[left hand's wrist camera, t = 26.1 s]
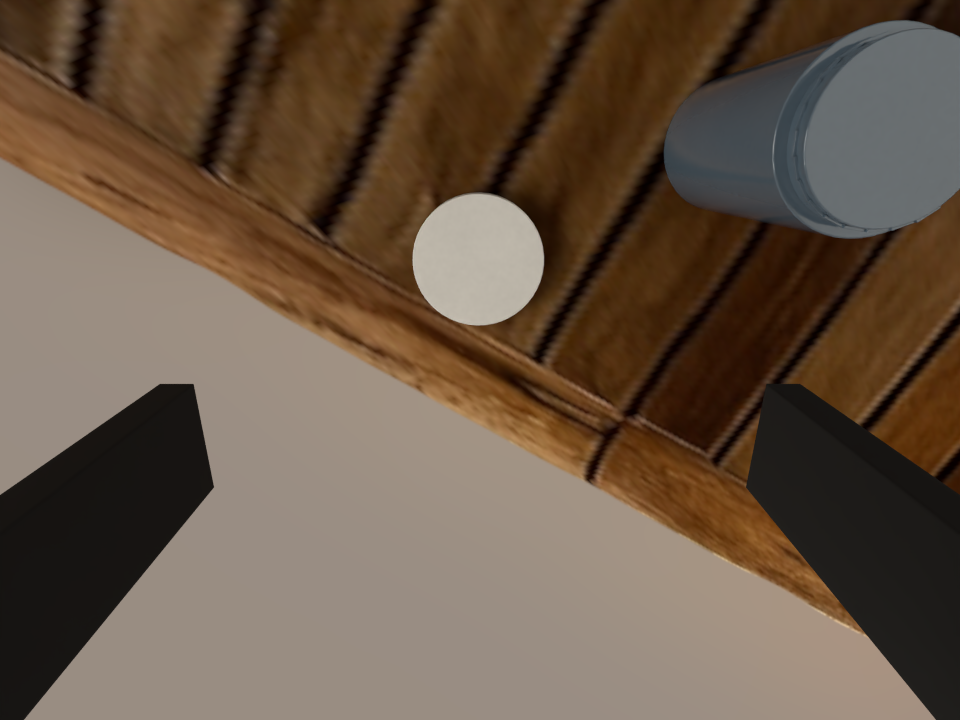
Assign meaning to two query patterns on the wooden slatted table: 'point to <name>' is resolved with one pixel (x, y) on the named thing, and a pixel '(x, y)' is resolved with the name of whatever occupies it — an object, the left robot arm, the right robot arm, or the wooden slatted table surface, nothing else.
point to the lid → (478, 259)
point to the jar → (828, 134)
